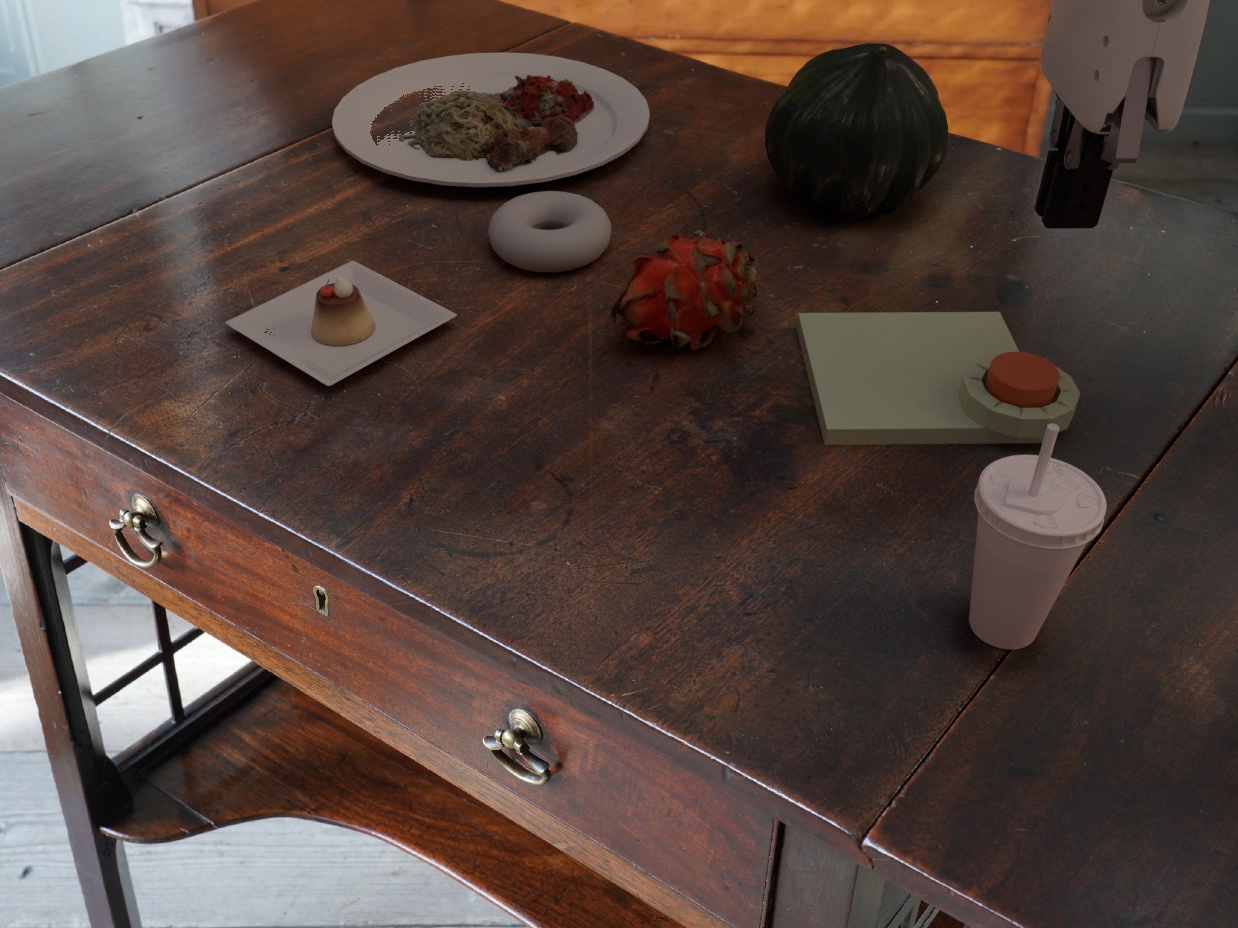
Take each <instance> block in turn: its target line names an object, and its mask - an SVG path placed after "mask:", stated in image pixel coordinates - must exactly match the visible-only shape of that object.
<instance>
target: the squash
mask: <svg viewBox="0 0 1238 928" xmlns="http://www.w3.org/2000/svg"><path fill="white" fill-rule="evenodd" d="M764 147H765V151H766V156H767V159H768V163H769V164H770V166H771V168H772V170H773V171H774V173H775V175H776V177H777V178H778V180H780V182H782V183H783V184H784V185H786V186H787V188H788V190H789V191H790V192H791V193H792V194H793V195H794V196H795V197H797V198H799V199H801V200H812V199H813V202H815V203H816V204H817V205H819V206H821V207H822V208H829V207H833V206H835V205H836V207H837V209H838V211H839V212H840V213H841V214H842V215H843V216H845V217H847V218H848V219H852V220H854V221H856V220H863V219H864V218H866V217H868V216H869V215H870V214H874V215H878V216H888V215H892V214H895V213H896V212H898V211H900V210H901V209H902V208H903V207H905V206H906V205H907V204H908V203H909V202H910V201H911V200H912V199H913V198H914V196H915V195H916V194H917V193H918V192H920V191H921V190H922V189H923V188H924V187H925V186H926V185H927V184H928V183H929V182H930V181H931V180H932V179H933V177H935V175H937V173H938V171H939V169H940V168H941V166H942V165H943V163H944V160H945V158H946V155H947V152H948V147H949V123H948V118H947V113H946V111H945V109H944V107H943V105H942V103H941V100H940V98H939V93H938V89H937V87H936V85H935V83H934V81H933V80H932V78H931V77H930V75H929V73H928V72H927V71H926V70H925V69H924V68H923V67H922V66H921V65H920V64H919V63H917V62H916V61H915V60H914V59H912V57H910V56H909V55H908V54H906V53H905V52H904V51H902V50H900V48H897V47H896V46H894V45H891V44H888V43H883V42H882V43H880V42H879V43H878V42H866V43H859V44H856V45H855V44H854V45H852V46H851V45H850V46H847V47H843V48H834V49H830V50H827V51H824V52H821V53H819V54H818V55H816V56H814V57H812V58H811V59H809V60H808V61H807V62H805V63H804V64H803V66H802V67H801V68H799V69H798V70H797V72H796V73H795V74H794V75H793V77H792V78H791V80H790V82H789V83H788V85H787V86H786V88H785V89H784V90H783V91H782V92H781V93H780V95H779V96H778V98H776V100H775V102H774V103H773V104H772V107H771V109H770V111H769V114H768V116H767V119H766V122H765V126H764Z"/></svg>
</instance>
